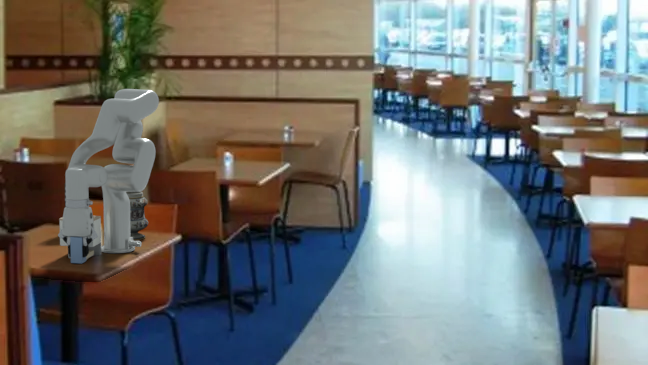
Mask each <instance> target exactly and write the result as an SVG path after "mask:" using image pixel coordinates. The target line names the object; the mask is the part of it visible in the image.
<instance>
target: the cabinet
mask: <svg viewBox="0 0 648 365" xmlns="http://www.w3.org/2000/svg"><path fill="white" fill-rule="evenodd" d="M93 220H94V230H95V232H96V233H97V235H98V237H97V238H96V239H94V240H93V241H92V242H91V243H90V244H89V250H94V255H93V256H101V255H102V252H101V246H102V229H101V228H102V215H93ZM58 221H59V232H60V231H61V229H62V221H63V216H62V217H60V218H59V219H58ZM67 237H68V236H67ZM91 237H92V235H90V236H89V238H91ZM59 246H61V247H62V246H63V247H68V245H67V243H66V242H65V241H64V240H63V239H62V238H60V237H59Z"/></svg>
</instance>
